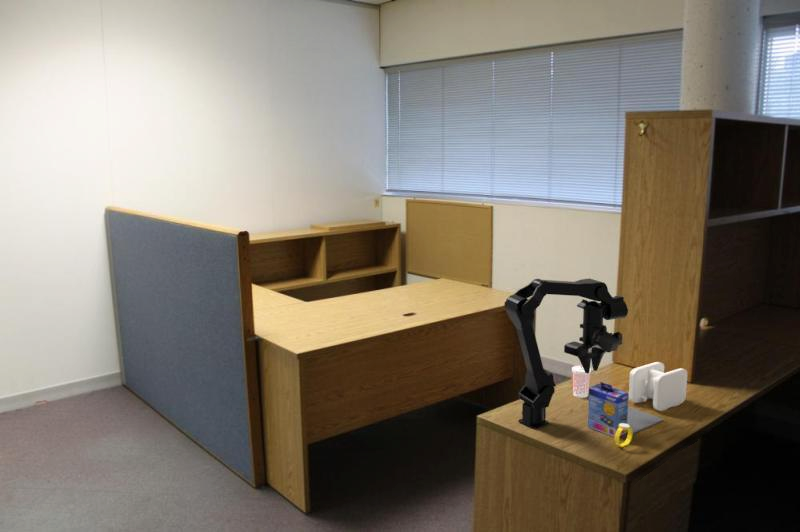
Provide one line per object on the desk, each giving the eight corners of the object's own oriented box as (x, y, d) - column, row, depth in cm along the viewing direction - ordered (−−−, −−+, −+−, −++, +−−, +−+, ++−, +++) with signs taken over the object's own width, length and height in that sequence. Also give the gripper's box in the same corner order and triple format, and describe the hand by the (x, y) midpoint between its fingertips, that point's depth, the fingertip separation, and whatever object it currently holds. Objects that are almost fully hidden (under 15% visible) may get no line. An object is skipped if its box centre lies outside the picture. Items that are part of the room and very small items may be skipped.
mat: (632, 433, 188) (632, 432, 188) (597, 420, 198) (597, 418, 198) (664, 420, 196) (664, 419, 196) (629, 407, 206) (629, 406, 206)
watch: (625, 441, 184) (627, 421, 183) (634, 445, 182) (636, 424, 181) (611, 446, 181) (613, 425, 180) (620, 450, 178) (622, 428, 178)
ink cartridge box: (586, 427, 193) (588, 379, 190) (597, 422, 196) (599, 375, 194) (616, 438, 185) (618, 389, 183) (627, 432, 189) (629, 384, 186)
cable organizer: (655, 414, 201) (657, 378, 199) (626, 403, 210) (628, 368, 207) (686, 403, 209) (688, 368, 206) (657, 393, 217) (659, 359, 215)
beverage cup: (584, 390, 221) (585, 350, 218) (594, 397, 215) (595, 355, 212) (567, 392, 219) (568, 351, 217) (577, 399, 213) (578, 357, 211)
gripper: (594, 333, 186) (592, 386, 189) (635, 322, 197) (633, 372, 199) (563, 324, 195) (562, 375, 198) (604, 314, 206) (602, 362, 208)
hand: (591, 371), depth 201 cm, fingers open, 3 cm apart
